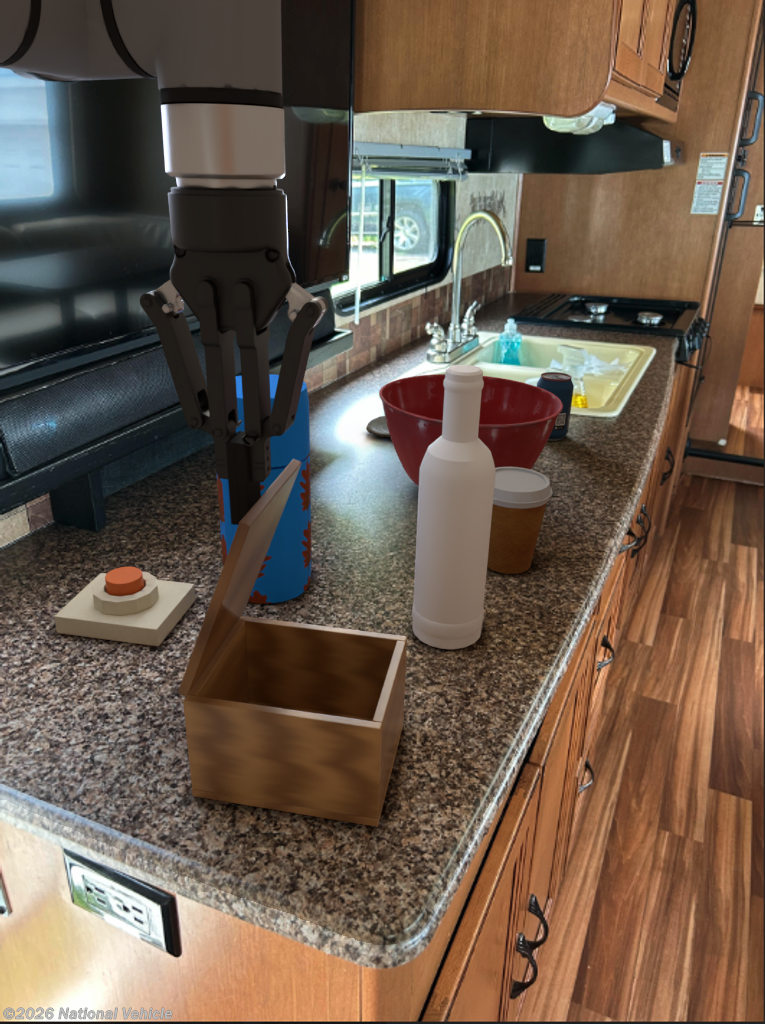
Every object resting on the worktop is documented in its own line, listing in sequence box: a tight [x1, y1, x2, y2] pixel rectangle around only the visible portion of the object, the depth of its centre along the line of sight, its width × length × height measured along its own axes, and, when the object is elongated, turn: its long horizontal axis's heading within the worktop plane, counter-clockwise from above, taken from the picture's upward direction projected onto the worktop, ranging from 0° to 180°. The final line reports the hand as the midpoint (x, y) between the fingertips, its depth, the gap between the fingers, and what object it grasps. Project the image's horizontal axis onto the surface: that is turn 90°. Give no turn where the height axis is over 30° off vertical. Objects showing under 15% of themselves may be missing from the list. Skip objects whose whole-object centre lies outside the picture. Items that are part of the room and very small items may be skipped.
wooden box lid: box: [177, 459, 302, 698], centre depth 61 cm, size 16×13×1 cm
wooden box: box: [182, 615, 408, 828], centre depth 66 cm, size 16×13×10 cm
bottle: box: [411, 364, 496, 650], centre depth 81 cm, size 8×8×30 cm
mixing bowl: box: [378, 373, 563, 487], centre depth 122 cm, size 28×28×15 cm
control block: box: [53, 571, 197, 647], centre depth 87 cm, size 12×10×4 cm
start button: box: [105, 566, 144, 596], centre depth 86 cm, size 4×4×2 cm
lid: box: [365, 415, 391, 438], centre depth 149 cm, size 11×10×5 cm
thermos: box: [216, 373, 313, 605], centre depth 91 cm, size 11×11×25 cm
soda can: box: [536, 371, 575, 442], centre depth 148 cm, size 7×7×12 cm
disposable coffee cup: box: [487, 467, 553, 575], centre depth 100 cm, size 10×10×12 cm
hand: (246, 517), depth 59 cm, fingers closed
